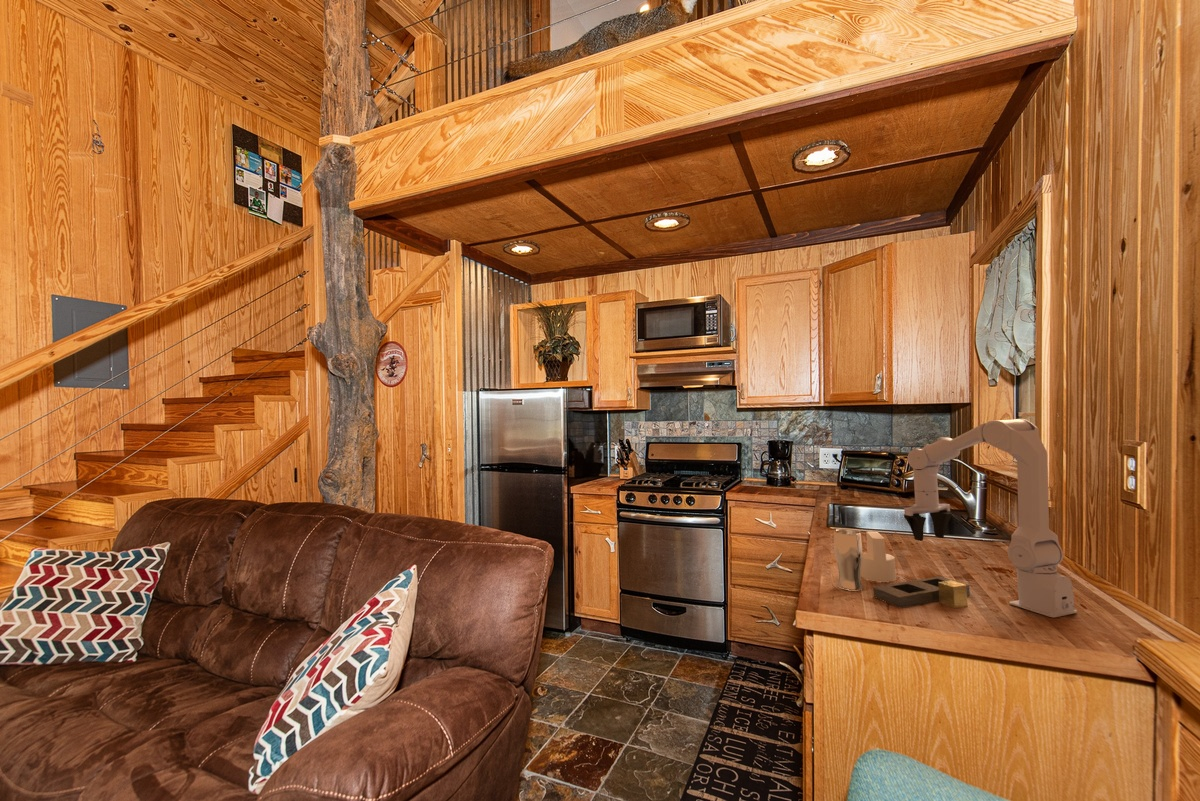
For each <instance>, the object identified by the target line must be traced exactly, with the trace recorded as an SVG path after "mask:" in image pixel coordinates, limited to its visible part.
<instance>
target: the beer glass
mask: <svg viewBox="0 0 1200 801" xmlns="http://www.w3.org/2000/svg"><path fill="white" fill-rule="evenodd" d="M862 540H863V538H862V532H861V531H860V530H856V529H850V528H838V529H835V530H833V549H834V550H833V552H834V556H835V559H836V560H835V562H836V565H837V569H838V582H837V587H838V586H839V587H841V588H844V589H849V590H861V589H863V590H864V585H863V582H862V578H861V564H862V555H863V553H864V552H863V541H862ZM839 587H838V588H839ZM861 591H862V590H861Z"/></svg>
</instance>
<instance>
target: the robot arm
mask: <svg viewBox="0 0 1200 801" xmlns="http://www.w3.org/2000/svg"><path fill="white" fill-rule="evenodd" d="M1039 429H1040V428H1039V427H1037V426H1036V425H1035V424H1034V423H1032V422H1031V421H1029V420H1028V419H1026V418H1025V419H1024V418H1015V419H1002V420H998V419H993V420H989V421H987V422H984V423H980V424H979V425H978V426H975V427H973V428H971V429H970V430H967V431H966V432H964V433H962V434H960V435H958V436H956V437H955V438H951V437H948V436H947V437H946V436H945V437H944V436H942V437H941V436H940V437H938V438H937V439H936V441H935V442H933V443H930V444H929V443H926V444H924V445H923V448H913V449H912V450H910V451H909V452H908V455H907V462H908V465H909V466H910V467H911V468H912V470H913V473H912V474H913V483H914V484H913V485H914V487H913V488H914V502H915V504H913V505H912V506H911V505H910V506H908V507H904V508H903V509H904V510H903V511H904V513H903V517H904V518H903V519H905V521H906V522H907V524H908V526H909V527H910V530H911V532H912V536H913V539H914V540H915V541H920V542H923V541H924V527H925V522H926V519H927V517H925V516H922V515H923V514H924V515H925V514H929V515H930V518H931V520H932V524H933V531H934V536H935V537H936V538H940V539H944V538H945V534H946V529H947V527H948V524H949V521H950V519H952V516H953V514H952V512H951V504H948V503H940V501H939V500H940V499H939V487H938V486H939V484H938V473H939V467H940V466H941V464H942V463H945V462H948V461H951V460H952V459H955V458H958V457H959V456H960V454H961V451H962V450H964V449H967V448H970V447H973V446H976V445H977V444H981V443H987V444H989V445H991V446H992V447H993V448H997V449H999V450H1000V451H1003V452H1005V453H1007V454H1009V455H1010V456H1011V457H1012V458H1014V459H1015V460H1016V465H1017V466H1016V467H1017V471H1016V472H1017V511H1018V512H1017V515H1018V518H1017V520H1018V526H1017V528H1016V529H1015V530H1014V531H1013V533H1012V534H1011V536H1010V537H1011V541H1010V544H1009V546H1008V547H1007V556H1008V559H1009V561H1010V562H1011V564H1012V565H1013V566H1014V568H1015V569H1016V577H1017V579H1016V580H1017V594H1018V600H1011V601H1009V605H1012V606H1015V607H1018V608H1020V609H1021V608H1022V609H1025V610H1027V611H1030V612H1034V613H1037V614H1040V615H1042V616H1046V617H1050V618H1052V619H1053V618H1058V617H1063V616H1069V615H1073V614H1076V613H1078V610H1077V609H1075V598H1074V597H1075V596H1074V586H1073V583H1072V581H1071V579H1070V578H1069V577H1068V576H1065V575H1063V574H1061V573H1059V572H1058V571H1057V570H1058V569H1059V568H1058V565H1059V564H1061V563H1062V562H1063V559H1064V552H1063V549H1062V547H1061V545H1060V542H1059V536H1058V535H1057V534H1056V533H1055V532H1054V531H1053V530H1051V529H1050V516H1049V514H1050V512H1049V510H1050V509H1049V508H1050V506H1049V472H1048V471H1049V468H1048V466H1049V465H1048V464H1049V463H1048V451H1047V449H1046V447H1045V444H1043V441H1042V439H1041V438H1040V432H1039V431H1040V430H1039Z"/></svg>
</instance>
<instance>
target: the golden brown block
mask: <svg viewBox="0 0 1200 801" xmlns="http://www.w3.org/2000/svg"><path fill="white" fill-rule="evenodd" d="M952 580H953V579H951V580H949V581H943V582H938V587H939V601H938V602H939V604H942V605H944V606H947V607H949V608H952V609H960V608H965V607H968V603H969V602H968V596H967V588H966V585H965V584H966V583H964V584H962V583H963V582H961V583H958V582H959V581H957V582H955V581H956V580H954V581H952Z"/></svg>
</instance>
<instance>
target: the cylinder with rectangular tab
mask: <svg viewBox="0 0 1200 801" xmlns="http://www.w3.org/2000/svg"><path fill="white" fill-rule="evenodd" d="M865 534H866V535H865V536H866V550H867V551H866V552H865V551H864V552H863V555H862V564H861V577H863V578H865V579H868V580H872V581H881V582H887V583H890V582H889V581H893V582H895V581H896V580H897V575H896V574H897V573H896V559H895V558H896V557H895V556H893V555H892V554H888V553H886V552H887V551H886V538H885V537H884V536H883V535H882V534H880V532H878V531H870V530H868V531H865ZM868 580H867V581H868ZM894 580H895V581H894ZM872 581H871V582H872ZM881 582H880V583H881Z"/></svg>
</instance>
